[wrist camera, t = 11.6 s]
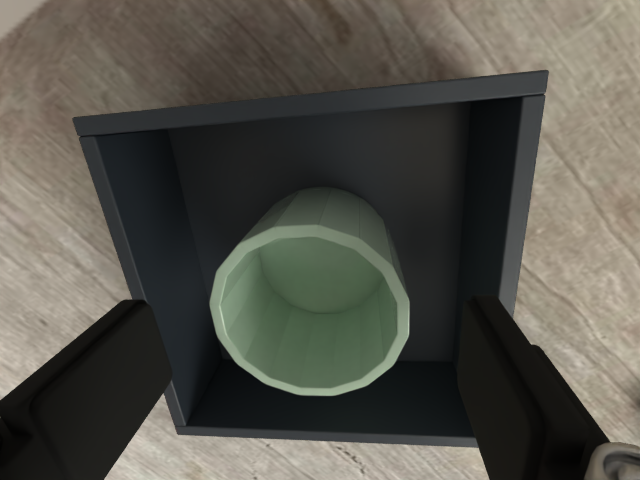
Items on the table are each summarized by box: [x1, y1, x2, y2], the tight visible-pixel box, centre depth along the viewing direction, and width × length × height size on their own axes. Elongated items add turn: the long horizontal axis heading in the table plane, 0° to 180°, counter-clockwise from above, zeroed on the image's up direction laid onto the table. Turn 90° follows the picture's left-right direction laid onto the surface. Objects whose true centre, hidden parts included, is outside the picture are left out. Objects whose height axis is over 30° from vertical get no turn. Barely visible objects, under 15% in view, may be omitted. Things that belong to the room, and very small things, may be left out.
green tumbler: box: [209, 187, 410, 396], centre depth 14 cm, size 7×7×6 cm
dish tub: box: [73, 70, 549, 448], centre depth 15 cm, size 14×14×5 cm
